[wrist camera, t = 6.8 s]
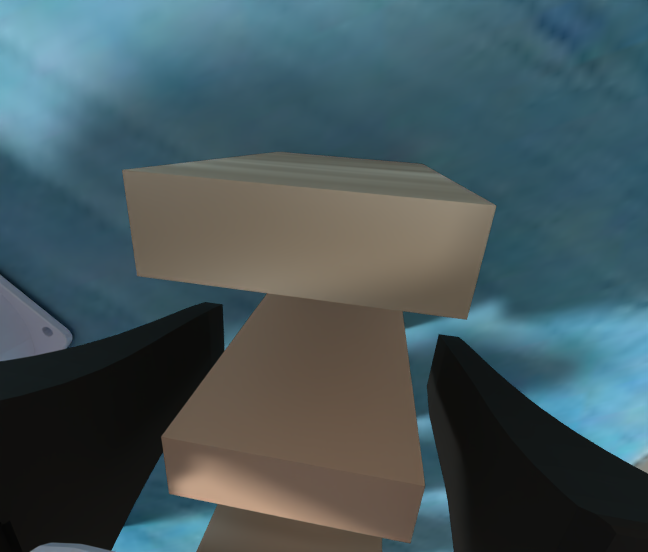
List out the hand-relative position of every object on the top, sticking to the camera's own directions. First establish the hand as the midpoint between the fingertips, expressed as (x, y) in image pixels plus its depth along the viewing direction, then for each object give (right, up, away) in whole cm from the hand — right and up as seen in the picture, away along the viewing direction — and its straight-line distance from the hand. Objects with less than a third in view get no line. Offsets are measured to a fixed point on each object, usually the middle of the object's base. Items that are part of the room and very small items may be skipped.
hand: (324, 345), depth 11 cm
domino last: (+1, +6, +1) cm, 6 cm away
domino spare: (0, +1, +3) cm, 3 cm away
